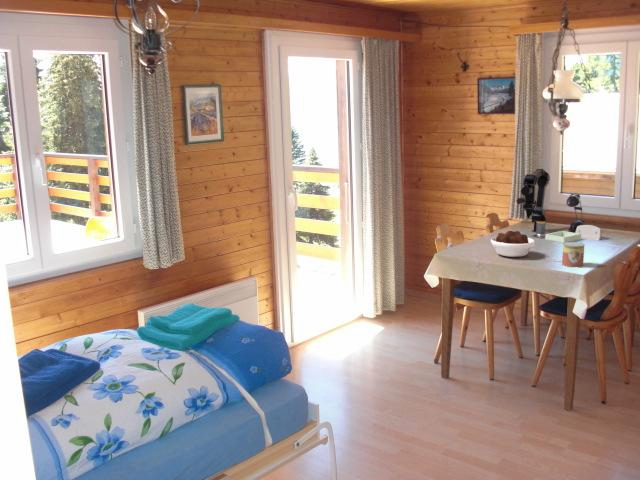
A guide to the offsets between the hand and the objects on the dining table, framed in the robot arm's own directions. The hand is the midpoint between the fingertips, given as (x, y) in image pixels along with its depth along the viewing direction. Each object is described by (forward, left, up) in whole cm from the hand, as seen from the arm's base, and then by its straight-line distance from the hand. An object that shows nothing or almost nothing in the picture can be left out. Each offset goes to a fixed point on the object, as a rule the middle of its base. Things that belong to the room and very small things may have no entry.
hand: (529, 216), depth 478 cm
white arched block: (-25, +28, -14) cm, 40 cm away
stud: (-6, +5, -13) cm, 15 cm away
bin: (-8, +21, -13) cm, 26 cm away
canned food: (+46, +65, -14) cm, 81 cm away
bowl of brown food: (+53, +29, -14) cm, 62 cm away
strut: (-6, +5, -11) cm, 14 cm away
